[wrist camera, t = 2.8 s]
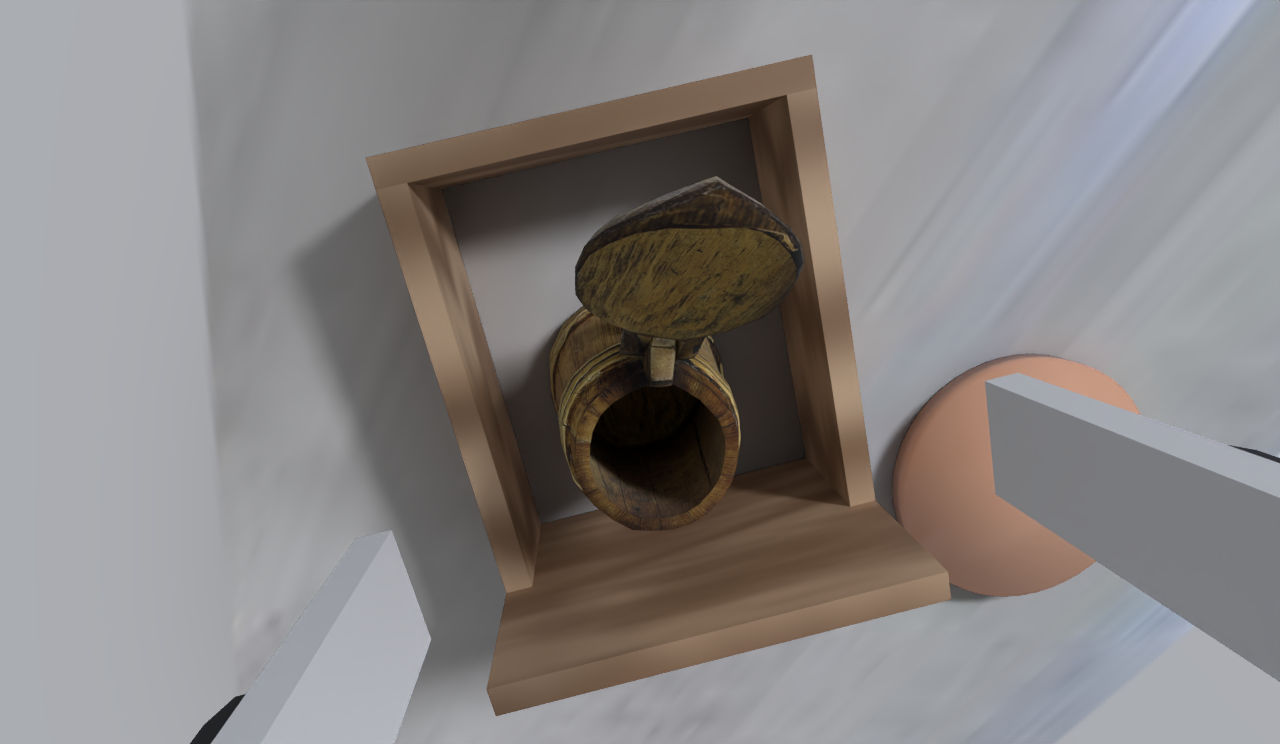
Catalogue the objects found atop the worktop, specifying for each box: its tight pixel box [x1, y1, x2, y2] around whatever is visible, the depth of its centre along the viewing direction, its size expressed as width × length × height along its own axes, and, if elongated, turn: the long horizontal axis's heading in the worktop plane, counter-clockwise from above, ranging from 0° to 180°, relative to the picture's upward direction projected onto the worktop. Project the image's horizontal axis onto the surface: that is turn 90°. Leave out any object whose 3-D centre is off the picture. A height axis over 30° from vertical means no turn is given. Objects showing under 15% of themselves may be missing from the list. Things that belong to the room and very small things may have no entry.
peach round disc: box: [892, 354, 1140, 597], centre depth 35 cm, size 14×14×2 cm
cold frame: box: [366, 55, 951, 716], centre depth 27 cm, size 20×17×12 cm
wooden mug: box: [549, 176, 805, 531], centre depth 24 cm, size 9×14×18 cm, turn 177°
